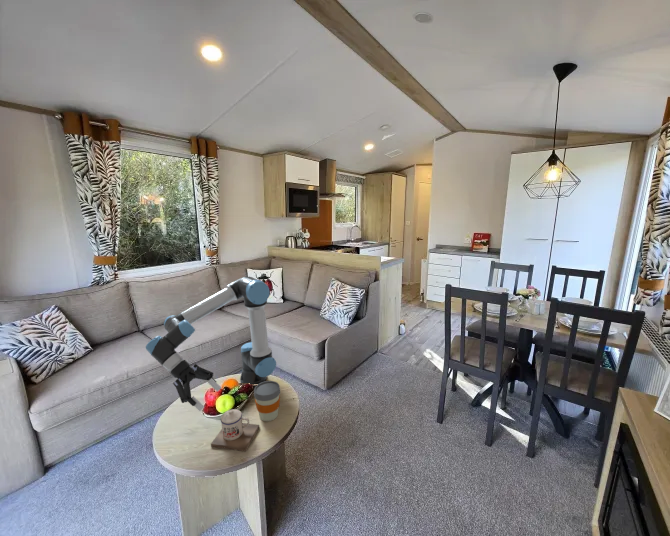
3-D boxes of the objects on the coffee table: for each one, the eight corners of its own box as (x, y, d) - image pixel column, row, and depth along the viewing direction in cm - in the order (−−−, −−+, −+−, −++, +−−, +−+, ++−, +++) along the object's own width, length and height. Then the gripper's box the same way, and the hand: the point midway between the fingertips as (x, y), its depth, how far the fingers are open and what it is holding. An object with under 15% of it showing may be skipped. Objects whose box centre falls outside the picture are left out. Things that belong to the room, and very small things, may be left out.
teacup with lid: (220, 442, 129) (217, 419, 126) (224, 427, 137) (222, 405, 135) (248, 438, 130) (246, 415, 128) (251, 424, 139) (249, 402, 137)
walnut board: (227, 423, 142) (227, 421, 142) (259, 427, 139) (259, 424, 139) (211, 446, 128) (210, 443, 128) (245, 451, 126) (245, 448, 125)
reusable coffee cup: (250, 420, 144) (248, 393, 141) (264, 404, 156) (262, 378, 153) (273, 426, 140) (271, 398, 137) (286, 409, 152) (284, 383, 149)
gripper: (190, 356, 144) (221, 387, 145) (150, 387, 120) (188, 423, 121) (198, 347, 143) (230, 378, 143) (160, 376, 118) (198, 413, 119)
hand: (211, 398), depth 132 cm, fingers open, 13 cm apart
